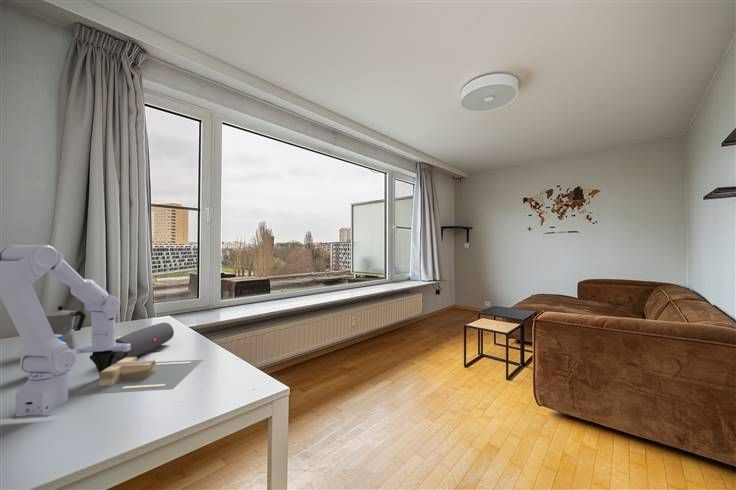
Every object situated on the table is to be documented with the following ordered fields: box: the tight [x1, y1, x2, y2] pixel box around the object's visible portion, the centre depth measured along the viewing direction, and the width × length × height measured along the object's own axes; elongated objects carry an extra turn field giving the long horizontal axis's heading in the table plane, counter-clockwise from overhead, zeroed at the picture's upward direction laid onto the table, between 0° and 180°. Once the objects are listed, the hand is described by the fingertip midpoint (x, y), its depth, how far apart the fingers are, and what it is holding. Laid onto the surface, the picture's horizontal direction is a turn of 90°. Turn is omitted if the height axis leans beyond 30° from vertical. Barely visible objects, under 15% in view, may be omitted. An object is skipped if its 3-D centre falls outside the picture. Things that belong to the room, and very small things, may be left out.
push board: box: [71, 359, 204, 396], centre depth 97 cm, size 22×27×1 cm
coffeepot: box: [45, 305, 87, 350], centre depth 123 cm, size 15×9×18 cm, turn 101°
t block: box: [98, 356, 156, 386], centre depth 97 cm, size 12×12×4 cm
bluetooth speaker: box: [112, 322, 175, 363], centre depth 118 cm, size 23×9×10 cm, turn 176°
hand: (104, 374), depth 95 cm, fingers closed
